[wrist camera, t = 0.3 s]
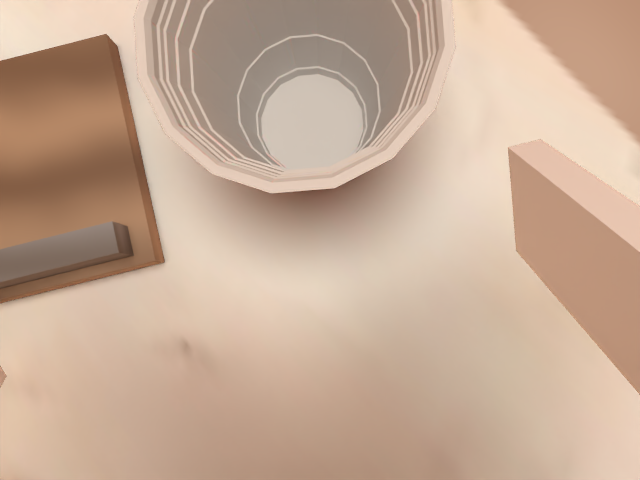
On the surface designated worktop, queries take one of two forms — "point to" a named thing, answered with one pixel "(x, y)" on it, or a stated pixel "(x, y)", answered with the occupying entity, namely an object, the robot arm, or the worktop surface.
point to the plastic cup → (292, 83)
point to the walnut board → (70, 171)
